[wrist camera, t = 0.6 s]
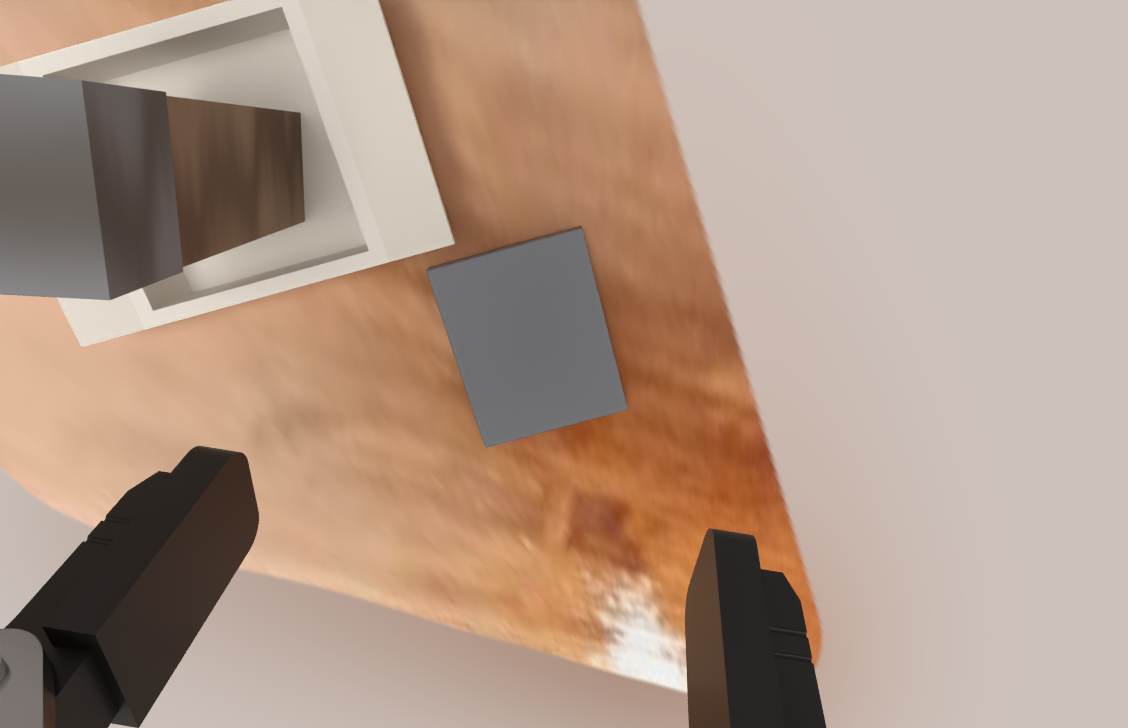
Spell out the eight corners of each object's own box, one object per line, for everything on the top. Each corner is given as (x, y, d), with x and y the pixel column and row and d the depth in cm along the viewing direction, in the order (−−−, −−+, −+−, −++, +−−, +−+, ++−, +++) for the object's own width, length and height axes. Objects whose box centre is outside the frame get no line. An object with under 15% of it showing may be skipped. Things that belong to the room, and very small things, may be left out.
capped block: (186, 101, 32) (-161, 60, 16) (302, 110, 32) (81, 80, 16) (196, 216, 33) (-110, 288, 17) (307, 223, 34) (109, 300, 18)
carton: (23, 90, 32) (-55, 82, 27) (386, -15, 31) (365, -39, 27) (134, 322, 35) (81, 347, 31) (462, 231, 35) (454, 244, 31)
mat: (429, 267, 35) (426, 271, 34) (580, 225, 35) (582, 228, 34) (485, 440, 38) (485, 447, 37) (625, 402, 38) (628, 409, 37)
